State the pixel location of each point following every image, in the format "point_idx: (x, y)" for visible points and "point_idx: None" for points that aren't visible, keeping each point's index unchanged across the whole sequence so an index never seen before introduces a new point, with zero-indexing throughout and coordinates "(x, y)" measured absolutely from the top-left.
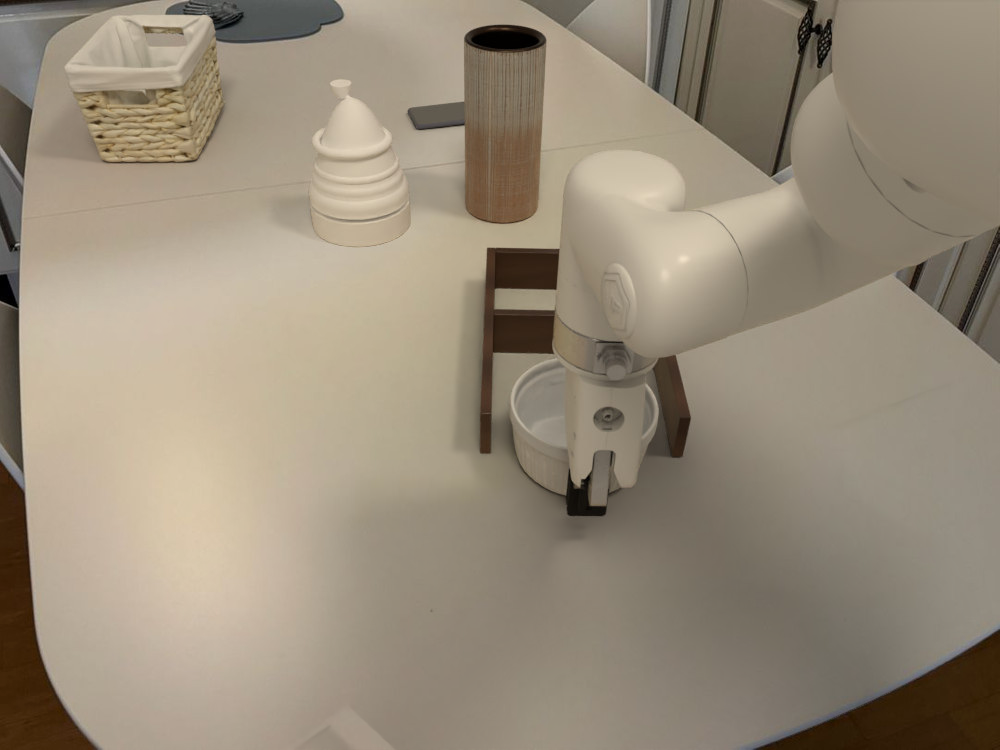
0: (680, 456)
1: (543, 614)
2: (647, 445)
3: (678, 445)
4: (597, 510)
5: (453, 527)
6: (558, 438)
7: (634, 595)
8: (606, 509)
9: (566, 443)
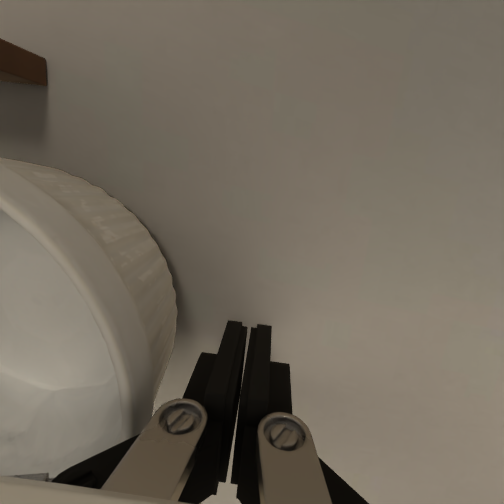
0: (44, 64)
1: (414, 411)
2: (49, 183)
3: (16, 64)
4: (289, 371)
5: (225, 495)
6: (23, 331)
7: (411, 262)
8: (270, 333)
9: (35, 319)
